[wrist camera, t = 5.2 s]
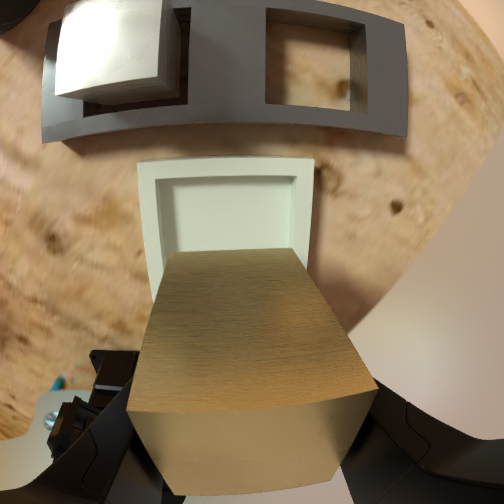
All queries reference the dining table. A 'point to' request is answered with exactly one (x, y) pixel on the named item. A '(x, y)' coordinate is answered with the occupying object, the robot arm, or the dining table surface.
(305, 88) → the dining table surface
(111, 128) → the rail
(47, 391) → the dining table surface
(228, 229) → the tray
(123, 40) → the grey square block
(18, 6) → the travel mug
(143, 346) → the beige wooden block
